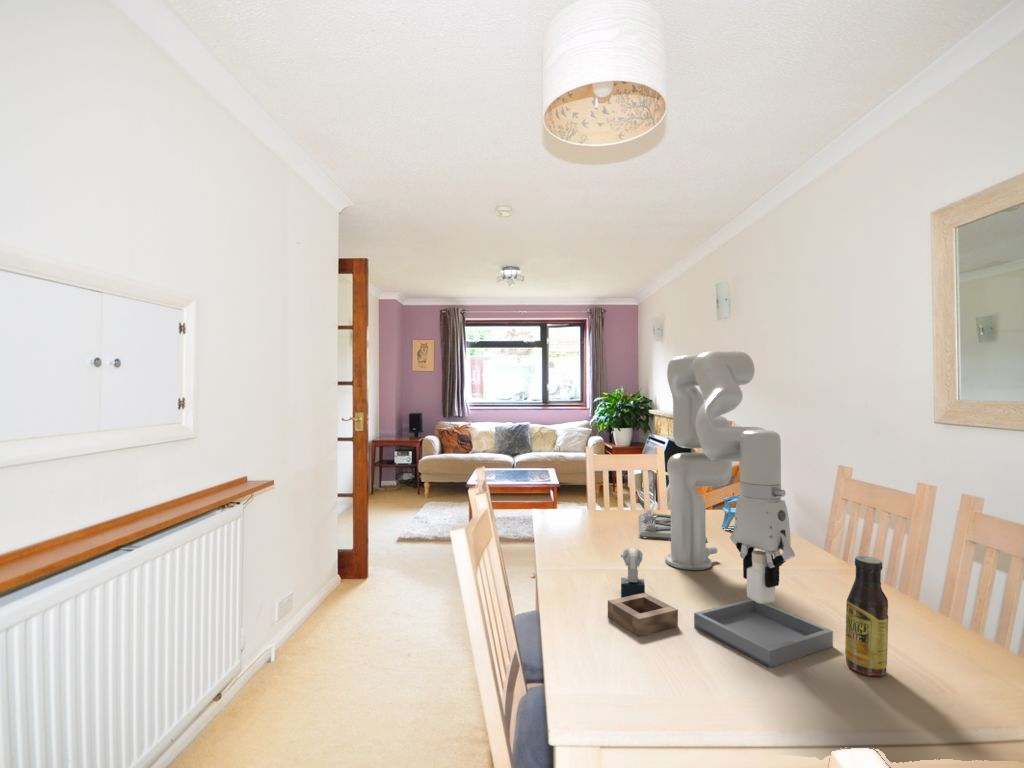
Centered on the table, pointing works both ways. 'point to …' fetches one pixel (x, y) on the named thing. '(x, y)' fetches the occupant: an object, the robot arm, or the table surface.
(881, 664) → the sauce bottle
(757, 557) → the salt shaker
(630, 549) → the watch
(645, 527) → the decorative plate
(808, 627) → the tray
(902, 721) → the table surface
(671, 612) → the shaker holder
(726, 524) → the chair
